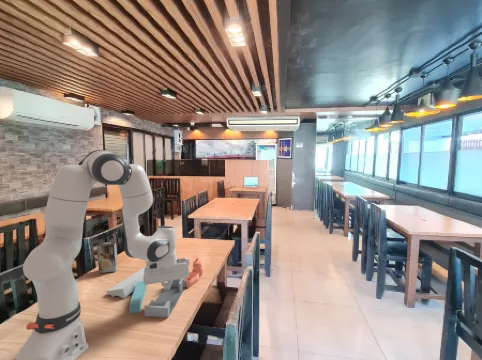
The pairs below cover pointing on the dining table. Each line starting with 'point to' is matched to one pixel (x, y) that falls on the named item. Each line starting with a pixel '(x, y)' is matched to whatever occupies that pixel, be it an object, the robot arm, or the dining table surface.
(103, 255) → the coffee box
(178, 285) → the end cap cradle
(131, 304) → the slat
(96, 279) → the dining table surface
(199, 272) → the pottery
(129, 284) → the decorative molding
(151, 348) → the dining table surface
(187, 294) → the dining table surface
